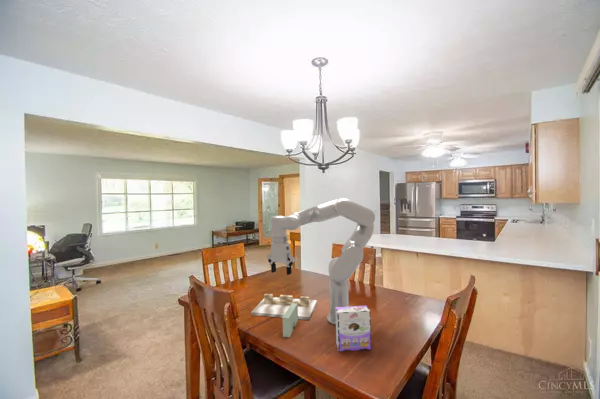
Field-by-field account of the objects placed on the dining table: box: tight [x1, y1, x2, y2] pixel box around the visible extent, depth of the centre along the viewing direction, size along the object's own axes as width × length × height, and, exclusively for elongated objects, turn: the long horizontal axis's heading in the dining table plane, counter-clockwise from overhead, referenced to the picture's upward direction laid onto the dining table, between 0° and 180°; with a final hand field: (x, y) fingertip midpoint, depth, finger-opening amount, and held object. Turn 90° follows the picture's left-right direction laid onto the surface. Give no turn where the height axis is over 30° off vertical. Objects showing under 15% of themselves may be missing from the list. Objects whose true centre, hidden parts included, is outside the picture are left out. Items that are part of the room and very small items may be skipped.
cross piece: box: [281, 303, 299, 338], centre depth 132 cm, size 16×3×9 cm, turn 166°
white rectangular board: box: [250, 293, 318, 321], centre depth 155 cm, size 32×22×6 cm
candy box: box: [335, 304, 372, 352], centre depth 115 cm, size 14×6×16 cm, turn 92°
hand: (281, 273), depth 141 cm, fingers open, 9 cm apart
